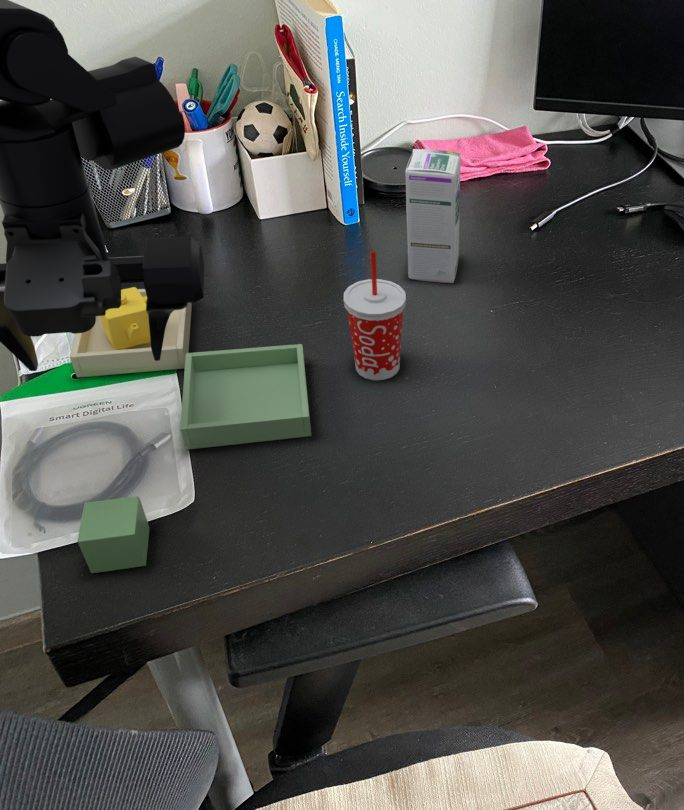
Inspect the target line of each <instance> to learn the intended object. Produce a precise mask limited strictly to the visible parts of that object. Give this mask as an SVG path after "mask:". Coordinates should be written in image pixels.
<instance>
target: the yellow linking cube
mask: <svg viewBox="0 0 684 810" xmlns="http://www.w3.org/2000/svg"><path fill="white" fill-rule="evenodd" d="M138 289H139V288H137V287H136V286H132V287H127V288H123V289H121V306H120V307H119V308H114V309H108V310H106V315H105V316H100V319H101V322H102V326H103V329H104V331H105V333H106V335H107V337H108V339H109V341H110V342H111V344H112V346H113V347H114V348H115V349H116V350H126V349H127V348H128V347H132V346H136V345H140V344H143V343H145V344H149V343H151V341H150V330H149V319H148V314H147V311H146V303H147V296H144V297H142V296H141V294H140V292H139V291H138Z"/></svg>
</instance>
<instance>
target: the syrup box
mask: <svg viewBox="0 0 684 810" xmlns="http://www.w3.org/2000/svg"><path fill="white" fill-rule="evenodd" d="M461 159H462V157H461V153H459V152H455V151H450V150H442V149H431V148H429V149H428V148H413V149H412V152H411V154H410V158H409V159H408V161H407V165H406V168H405V172H404V173H405V207H406V208H405V209H406V211H405V213H406V242H407V243H406V244H407V245H406V246H407V247H406V249H407V277H408V279H410V280H415V281H422V282H434V283H445V284H446V283H447V284H454V282H455V280H456V275H457V271H458V265H459V261H460V228H461V227H460V225H461V224H460V223H461V221H460V220H461V219H460V218H461V217H460V216H461V165H462V163H461Z"/></svg>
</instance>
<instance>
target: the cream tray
mask: <svg viewBox="0 0 684 810" xmlns="http://www.w3.org/2000/svg"><path fill="white" fill-rule="evenodd" d="M137 289H138V291H139V292H140V294H141V296H142V297H144V296H147V295H146V291H145V288H137ZM192 309H193V307H192V302H191V303H188V305H187V306H186V307H185V308H184V309H182V310H174V311H173V312H172V313H171V314H170V317H169V319H168V322H167V325H166V328H165V333H164V339H163V345H162V351H161V357H160V360H159V361H155V360H154V357H153V353H152V350H151V343H149V344H145V343H143V344H140V345H136V346H132V347H128V348H127V349H126V350H116V349H115V348H114V347H113V346H112V344H111V342H110V341H109V339H108V337H107V335H106V333H105V331H104V329H103V326H102V322H101V319H100V316H96V322H95V325H94V327H93V328H92V329H90V330H89V331H87V332H84V333H77V334H74V338H73V342H72V345H71V346H72V347H71V350H70V355H69V360H70V362H71V364H72V365H71V366H72V368H73V370H74V373H75V376H76V378H88V377H90V378H91V377H100V376H101V377H102V376H112V375H122V374H125V375H126V374H134V373H135V374H136V373H147V372H148V373H149V372H158V371H159V372H160V371H161V372H162V371H172V370H183V369H184V370H185V358H186V353H190V352H189V350H190V337H191V321H192Z"/></svg>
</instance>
